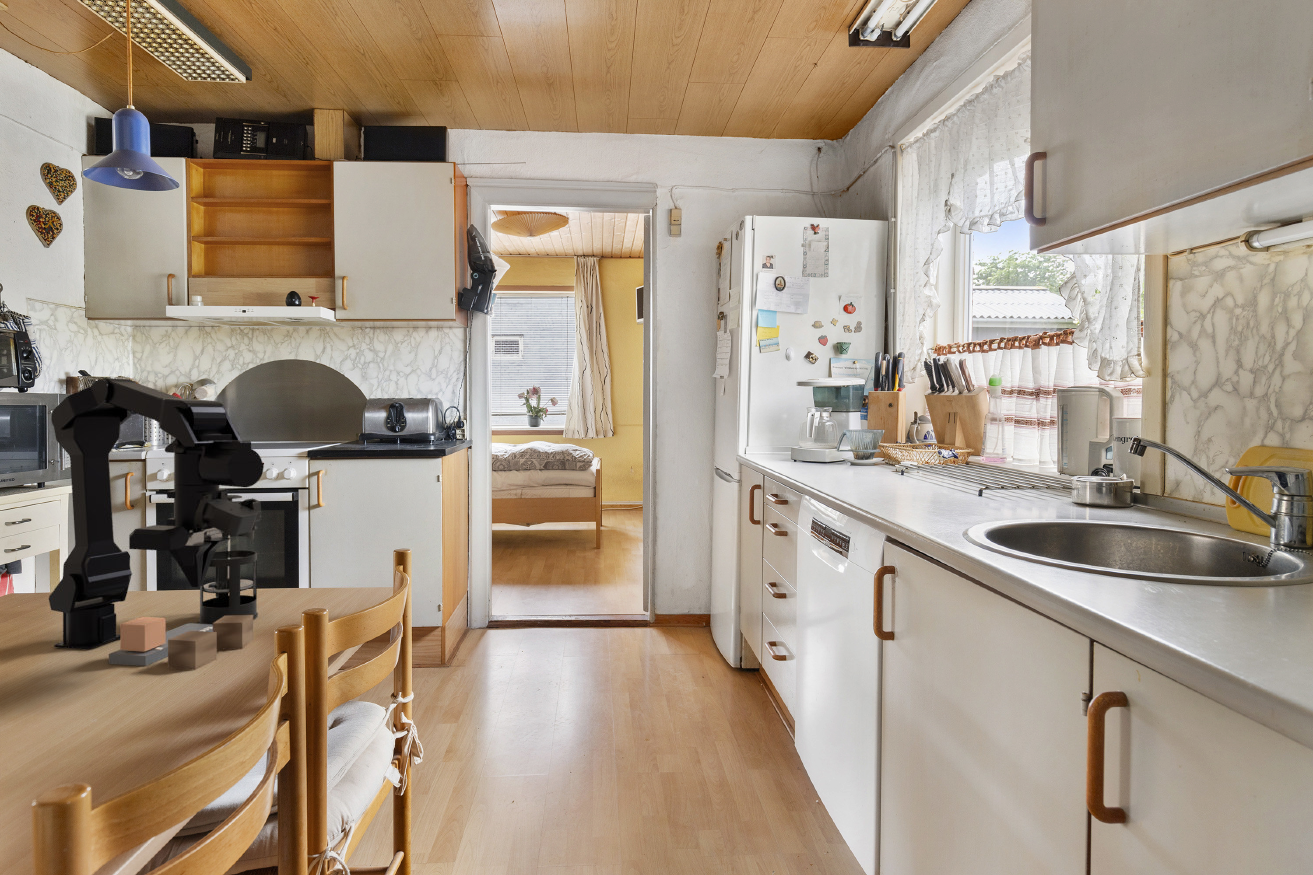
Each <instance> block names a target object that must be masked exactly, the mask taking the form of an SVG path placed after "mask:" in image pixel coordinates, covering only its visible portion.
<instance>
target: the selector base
mask: <svg viewBox="0 0 1313 875" xmlns="http://www.w3.org/2000/svg"><path fill="white" fill-rule="evenodd" d="M188 631H204V632H213V625H212V624H199V623H193V622H192V623H191V622H190V623H189V622H188V623H186V624H183V625H180V626H178V627H176V628H173V629H170V630H167V631H166V642H165V644H162V645H160V646H157V647H155V648H152V649H150V650H147V651H145V652H144V651H126V650H121V648H120V649H118V650H116V651H113V652H111V653H108V664H109V665H122V666H123V665H125V666H126V665H127V666H137V667H138V666H142V667H145V666H146V667H147V666H148V665H151V664H153V663H156V662H158V661H160V660H163V659H165V658H168V639H171V638H173V637H176V636H178V635H181V634H183V633H186V632H188Z"/></svg>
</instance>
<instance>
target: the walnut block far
mask: <svg viewBox="0 0 1313 875" xmlns="http://www.w3.org/2000/svg"><path fill="white" fill-rule="evenodd" d="M213 632H217V651H218V650H243V649H244V648H245V647H247V646H248V645H250V643H252V642H253V641H254V620H253V615H231V616H223V617H222V618H220V619H219V620H217V621H216V622H214V623H213Z"/></svg>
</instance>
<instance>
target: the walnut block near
mask: <svg viewBox="0 0 1313 875" xmlns="http://www.w3.org/2000/svg"><path fill="white" fill-rule="evenodd" d="M217 651H218V650H217V632H204V631H188V632H186V633H183V634H181V635H178V636H176V637H173V638H171V639H168V657H167V669H177V670H179V669H180V670H193V671H195V670H196V671H197V670H198V669H200V668H202V667H204V666H206V665H208V664H211V663H212V662H215V661H217V653H218V652H217Z"/></svg>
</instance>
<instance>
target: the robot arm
mask: <svg viewBox="0 0 1313 875" xmlns="http://www.w3.org/2000/svg"><path fill="white" fill-rule="evenodd" d="M132 413H134V414H136V415H140V416H142V417H145V418H148V419H151V420H153V421H155V422H157V423H158V425H159V429H161V431H163V432H164V433H166V434H167V435H169V436H171V437H172V438H174V440H173V441H172V442H171V443H169V444H167V445H166V447H164V452H165V453H170V454H172V453H173V490H168V491H166V499H173V517H170V518H167V519H166V525H158V524H155V525H154V524H153V525H149V526H143V527H138V528H134V530H133V531H132V532H131V533H130V534H129V537H128V538H129V540H128V544H129V546H128V547H129V550H140V551H141V550H143V551H162V552H163V551H168V552H169V553H170V555H171V556H172V558H174V560H175V562H176V563H177V564H178V566H179V568H180V569H181V571H182V572H183V575H184V576H185V578H186V580H187V582H188V583H189V584H190V587H191V588H200V586H202V584H203V585H204V581H205V578H206V575H207V572H208V570H209V568H210V567H209V565H210V563H211V560H212V558H213V555H214V553H215V552H217V551H218V549H219V548H220V547H221V546H223V545H224V544H225V543H226V542H227V543H228V541H229V540H230V541H231V537H238V536H237V535H239V534H241V533H245V532H247V533H250V532H251V531H252V530H254V531H256V530H255V526H256V525H255V522H259V521H261V520H262V505H261V504H262V503H261V501H260V500H258V499H256V498H248V499H244V500H243V501H242V502H240V501H232V502H231V501H229V500H228V495H229V493H228V492H227V489H226V488H225V489H224V488H220V486H223V487H237V488H249V487H252V486H254V485H256V484H257V483H258V482H259V481H260V479H261V477H262V475H263V474H264V473H263V472H264V468H265V466H264V462H263V460H262V457H261V456H260V454H259V453H258V452H257V451H256V450H255V449H252V441H251V440H242V439H241V437H240V435H241V434H240V433H239V432H238V430H237V428H236V427H235V425H234V424H233V422H232V420H231V418H230V416H229V414H228V412H227V411H226V407H225V405H224V404H223V403H222V402H220V401H217V400H210V399H209V400H208V399H194V398H193V399H192V398H181V397H179V396H175V395H172V394H169V393H166V392H164V391H162V390H161V391H160V390H158V389H154V388H152V387H149V386H146V385H143V384H141V383H138V382H136V381H135V380H132V379H130V378H129V379H128V378H115V377H114V378H113V377H102V378H99V379H97V380H96V381H95V382H93V383H92V384H91V385H90V386H88V387H85V388H84V389H82V390H79V391H76V392H75V393H72V394H69V395H68V396H66V397H65V398H64V399H63V400H62V401H61V402H60V403H59V404H58V405H57V406H56V407H54V409H53V410H52V412H51V418H50V420H51V425H52V426H53V430H54V435H55V440H56V441H57V443H58V444H59V446H61V448H62V449H63V450H64V451H65V453H66V454H68V456H69V461H70V476H71V480H70V481H71V491H72V492H71V493H72V494H71V496H72V512H73V513H72V514H73V527H74V530H73V531H74V547H73V549H72V550H71V551H70V554H69V555H68V557H67V558H66V559H65V561H64V563H63V565H62V566H63V567H62V568H63V569H62V578H61V579H60V581H59V582H58V584H57V585H56V587H55V588H54V590H53V591H52V592H51V593H50V595H49V596H48V601H49V607H50V610H51V611H53V612H59V613H62V639H63V640H62V641H59V642H56V643H54V644H53V648H59V649H60V648H61V649H76V650H92V649H95V648H98V647H100V646H103V645H106V644H109V643H111V642H114V641H117V640H119V639H120V640H121V633H120V634H119V633H117V613H116V611H115V603H118V602H124V601H126V599H127V594H128V591H129V587H130V583H131V582H130V581H131V578H132V576H133V573H132V570H131V554H130V553H129V551H126V550H125V551H123V550H122V549H121V548H120V547H119V546H118V544H116V542H115V538H114V523H113V520H114V519H113V504H112V490H111V488H112V487H111V472H110V453H111V452H112V450H113V448H114V447H115V446H116V445H117V442H118V441H119V440H120V437H121V436H120V435H121V426H122V425H123V424H124V423H125V422H126V421H127V420H128V419H129V418H130V417H131V416H132ZM220 531H223V532H224V533H225V534H227V535H231V537H230V538H228V537H222V533H220Z"/></svg>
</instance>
